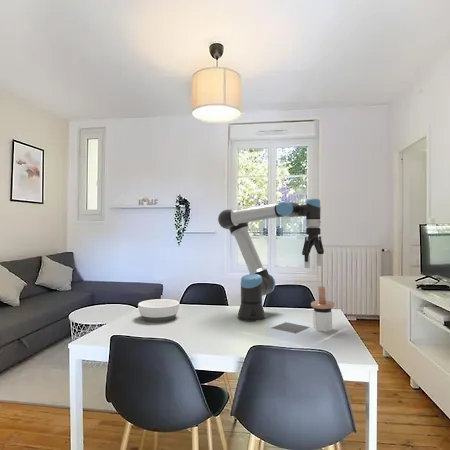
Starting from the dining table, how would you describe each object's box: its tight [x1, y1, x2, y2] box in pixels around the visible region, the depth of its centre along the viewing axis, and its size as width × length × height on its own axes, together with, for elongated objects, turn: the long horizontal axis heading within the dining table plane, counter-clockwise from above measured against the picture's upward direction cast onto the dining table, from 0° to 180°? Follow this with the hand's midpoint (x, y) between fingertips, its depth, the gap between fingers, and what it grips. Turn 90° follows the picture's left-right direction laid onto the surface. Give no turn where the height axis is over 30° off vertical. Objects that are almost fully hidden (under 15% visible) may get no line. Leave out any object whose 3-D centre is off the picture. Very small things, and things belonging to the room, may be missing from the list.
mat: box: [271, 321, 311, 334], centre depth 177 cm, size 14×14×1 cm
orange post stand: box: [310, 286, 335, 309], centre depth 175 cm, size 11×11×9 cm
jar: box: [312, 308, 333, 332], centre depth 175 cm, size 9×8×12 cm
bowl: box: [137, 298, 180, 323], centre depth 199 cm, size 22×22×8 cm
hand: (313, 266), depth 193 cm, fingers open, 13 cm apart
